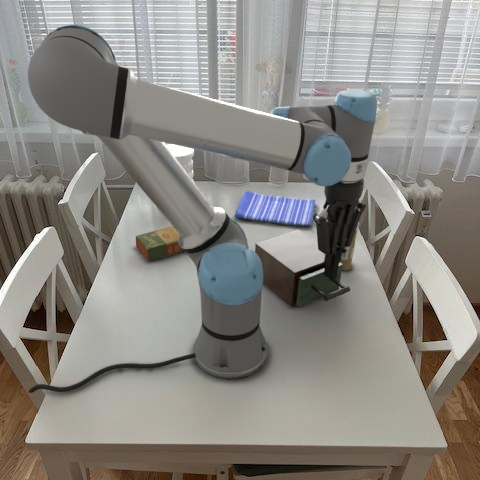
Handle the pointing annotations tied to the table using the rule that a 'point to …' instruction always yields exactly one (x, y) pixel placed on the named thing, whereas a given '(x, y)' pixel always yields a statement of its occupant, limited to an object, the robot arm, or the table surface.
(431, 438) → the table surface
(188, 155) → the decorative container
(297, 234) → the cabinet
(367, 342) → the table surface
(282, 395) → the table surface
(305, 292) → the drawer
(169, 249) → the carton
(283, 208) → the dish towel
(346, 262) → the sprinkles bottle
